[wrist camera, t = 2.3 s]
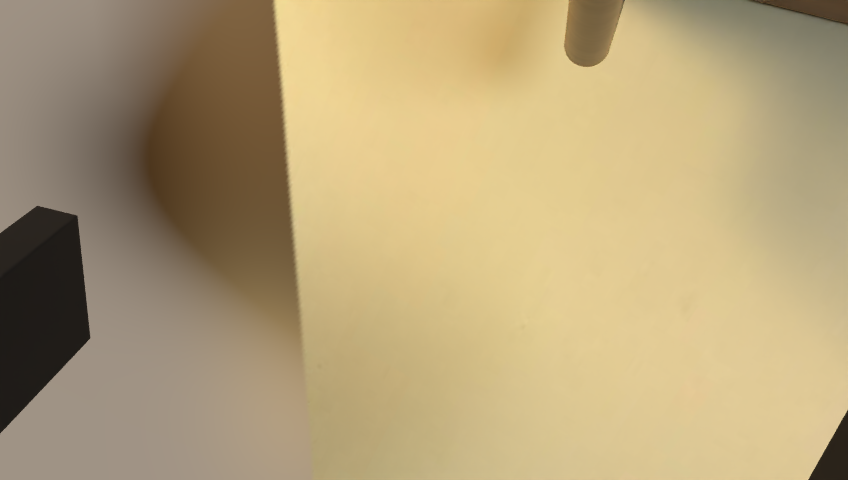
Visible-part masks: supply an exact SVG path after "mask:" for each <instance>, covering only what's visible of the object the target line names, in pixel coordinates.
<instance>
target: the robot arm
mask: <svg viewBox="0 0 848 480" xmlns="http://www.w3.org/2000/svg"><path fill="white" fill-rule="evenodd" d="M89 339H90V331H89V322H88V313H87V303H86V293H85V285H84V274H83V265H82V256H81V246H80V236H79V227H78V218H77V216H76V215H72V214H68V213H64V212H60V211H56V210H52V209H48V208H44V207H40V206H36V207H35V208H34V209H32V210H31V211H30V212H28V213H27V214H26V215H24V216H23V217H22V218H20V219H19V220H17V221H16V222H15V223H13V224H12V225H11V226H9V227H8V228H7V229H5V230H4V231H3V232H1V233H0V433H1V432H2V431H3V430H4V429H5V428H6V427H7V426H8V425H9V424H10V423H11V421H12V420H13V419H14V418H15V417H16V416H17V415H18V414H19V413H20V412H21V411H22V410H23V409H24V408H25V407H26V406H27V405H28V403H29V402H30V401H31V400H32V399H33V398H34V397H35V396H36V395H37V394H38V393H39V392H40V391H41V390H42V389H43V388H44V387H45V386H46V385H47V383H48V382H49V381H50V380H51V379H52V378H53V377H54V376H55V375H56V374H57V373H58V372H59V371H60V370H61V369H62V368H63V366H64V365H65V364H66V363H67V362H68V361H69V360H70V359H71V358H72V357H73V356H74V355H75V354H76V353H77V352H78V351H79V350H80V349H81V347H82V346H83V345H84V344H85V343H86V342H87V341H88V340H89ZM808 480H848V411H847V412H846V414H845V416H844V418H843V419H842V421H841V423H840V425H839V426H838V428H837V430H836V432H835V434H834V435H833V437H832V439H831V441H830V442H829V444H828V446H827V448H826V449H825V451H824V453H823V455H822V457H821V458H820V460H819V462H818V464H817V465H816V467H815V469H814V471H813V472H812V474H811V476H810V478H809V479H808Z"/></svg>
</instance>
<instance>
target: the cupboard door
mask: <svg viewBox="0 0 848 480" xmlns="http://www.w3.org/2000/svg"><path fill="white" fill-rule="evenodd" d="M624 1H625V0H569V6H568V16H567V25H566V34H565V43H564V48H565V52H566V55H567V56H568V58H569V59H570V60H571V61H572V62H573V63H575V64H577V65H579V66H583V67H590V66H594V65H597V64H599V63H600V62H601V61H603V60H604V59H605V57H606V56H607V54H608V52H609V49H610V46H611V43H612V40H613V36H614V33H615V30H616V27H617V24H618V20H619V17H620V14H621V11H622V8H623V4H624ZM755 1H759V2H763V3H767V4H771V5H775V6H779V7H783V8H787V9H791V10H795V11H799V12H803V13H807V14H811V15H815V16H819V17H823V18H827V19H832V20H836V21H840V22H844V23H848V0H755Z"/></svg>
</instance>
